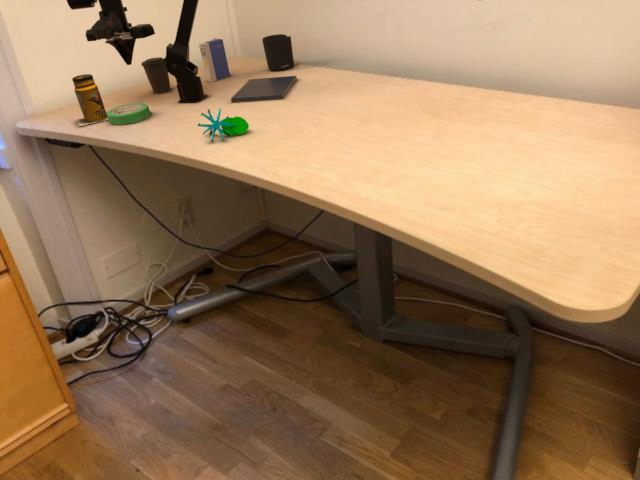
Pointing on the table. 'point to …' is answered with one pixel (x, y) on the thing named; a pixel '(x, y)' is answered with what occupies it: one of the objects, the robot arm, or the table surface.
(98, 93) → the condiment
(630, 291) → the table surface
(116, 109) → the tape roll
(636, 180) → the table surface
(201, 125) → the stick construction toy
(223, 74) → the blue white rectangular box
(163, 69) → the coffee cup
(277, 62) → the black speaker
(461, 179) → the table surface
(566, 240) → the table surface
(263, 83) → the notebook
